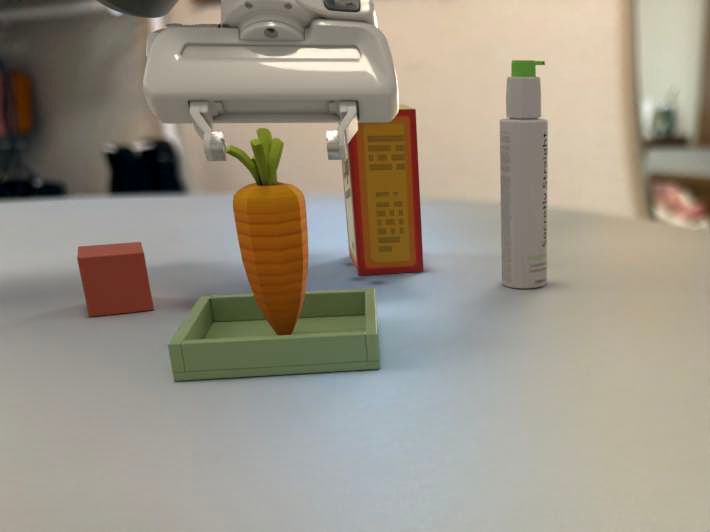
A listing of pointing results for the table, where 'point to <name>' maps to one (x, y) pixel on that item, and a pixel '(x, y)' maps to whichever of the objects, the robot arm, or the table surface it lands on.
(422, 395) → the table surface
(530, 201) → the bottle
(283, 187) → the carrot
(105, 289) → the terracotta block
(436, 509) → the table surface
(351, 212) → the baking soda box
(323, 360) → the green tray
